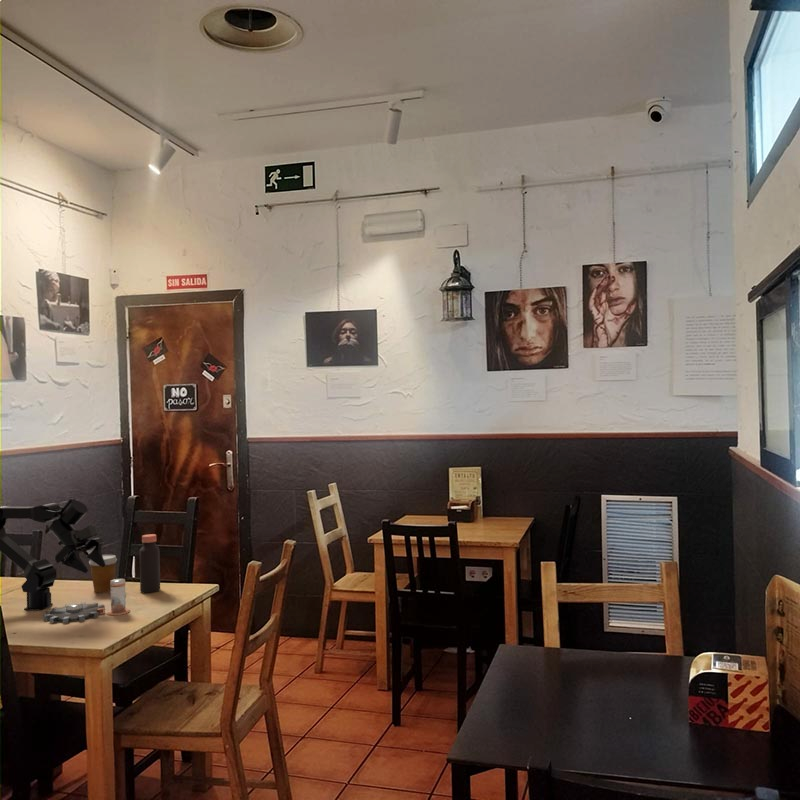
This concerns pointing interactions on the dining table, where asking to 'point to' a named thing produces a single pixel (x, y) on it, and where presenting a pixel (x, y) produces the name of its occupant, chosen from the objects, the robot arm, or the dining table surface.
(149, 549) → the bottle
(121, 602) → the pin
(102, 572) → the disposable coffee cup
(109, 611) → the seat pad
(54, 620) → the sprocket
